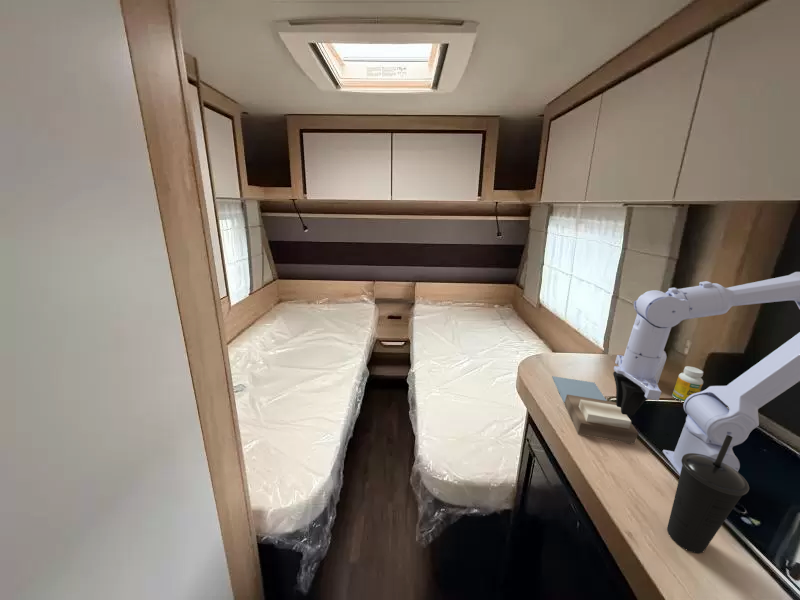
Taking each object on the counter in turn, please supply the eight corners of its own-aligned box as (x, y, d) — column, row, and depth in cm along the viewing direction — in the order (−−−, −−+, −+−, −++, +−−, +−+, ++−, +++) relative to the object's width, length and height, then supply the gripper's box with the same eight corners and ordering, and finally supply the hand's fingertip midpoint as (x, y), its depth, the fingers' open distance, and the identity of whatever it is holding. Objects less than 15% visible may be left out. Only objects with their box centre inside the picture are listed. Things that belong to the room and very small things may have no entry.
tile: (628, 428, 77) (631, 421, 76) (586, 421, 78) (588, 414, 77) (618, 412, 82) (620, 405, 82) (578, 406, 84) (580, 399, 83)
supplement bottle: (682, 394, 99) (693, 364, 96) (700, 405, 94) (712, 374, 91) (666, 394, 98) (677, 364, 95) (683, 405, 93) (695, 374, 90)
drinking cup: (691, 519, 58) (733, 422, 52) (729, 565, 51) (783, 459, 45) (646, 514, 59) (683, 417, 53) (677, 559, 52) (724, 453, 45)
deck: (634, 444, 76) (638, 432, 75) (577, 433, 78) (580, 423, 77) (613, 412, 87) (616, 402, 87) (564, 404, 90) (566, 394, 89)
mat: (612, 411, 88) (612, 410, 88) (563, 403, 90) (564, 402, 90) (594, 383, 101) (594, 382, 101) (552, 376, 103) (552, 376, 103)
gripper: (607, 334, 74) (592, 388, 78) (638, 365, 60) (617, 428, 64) (643, 339, 73) (625, 393, 77) (682, 371, 59) (658, 436, 63)
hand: (624, 410), depth 70 cm, fingers closed
